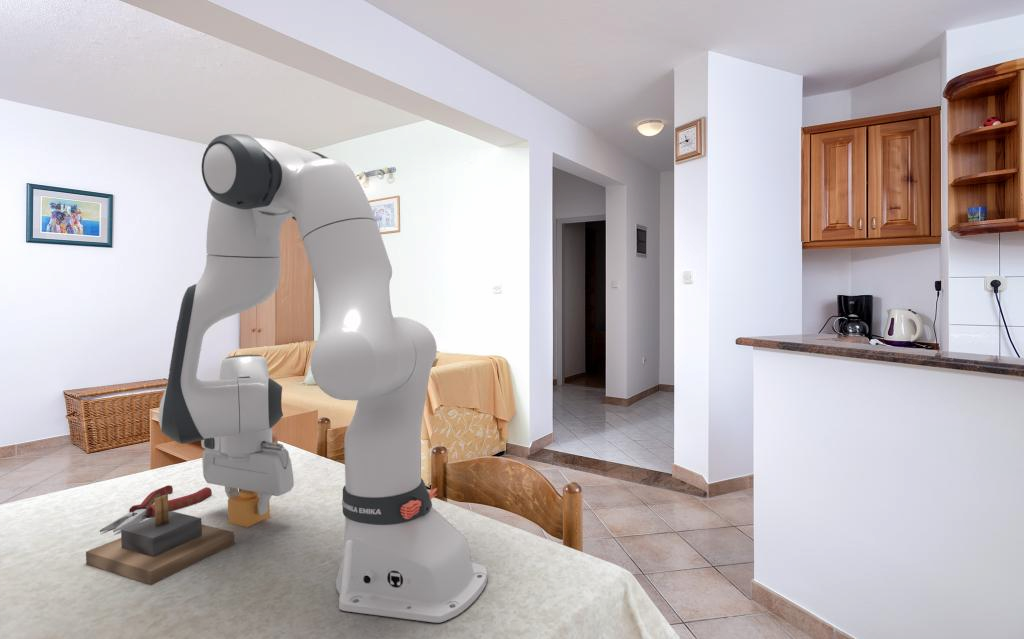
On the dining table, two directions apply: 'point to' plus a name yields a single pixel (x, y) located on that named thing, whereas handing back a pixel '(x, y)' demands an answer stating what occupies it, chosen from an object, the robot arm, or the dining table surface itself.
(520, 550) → the dining table surface
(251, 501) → the orange knobbed cube
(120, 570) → the board
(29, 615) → the dining table surface
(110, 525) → the pliers
